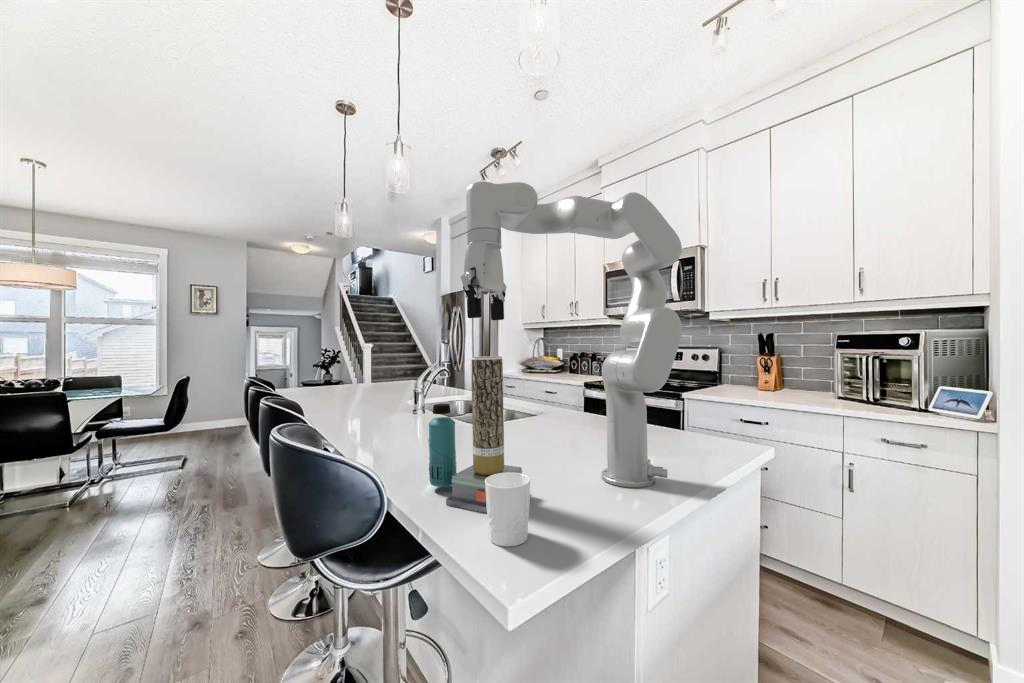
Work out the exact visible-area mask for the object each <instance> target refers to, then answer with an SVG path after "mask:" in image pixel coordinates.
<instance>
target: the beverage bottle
mask: <svg viewBox="0 0 1024 683" xmlns="http://www.w3.org/2000/svg"><path fill="white" fill-rule="evenodd" d="M450 413H451V406H450V403H436V404H435V403H434V404H433V406H432V414H434V415H446V414H450ZM428 451H429V452H428V454H429V456H428V458H429V459H428V460H429V463H428V465H429V466H428V475H429V482H430V485H431V486H432V487H433V486H434V487H437V488H438V487H440V488H441V487H442V488H443V487H449V486H452V476H453V475H455V474H457V473H458V472H457V452H456V421H455V420H454V419H452V418H451V417H449V416H439V417H433V418H432V419H431V420H430V421H429V423H428Z"/></svg>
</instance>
